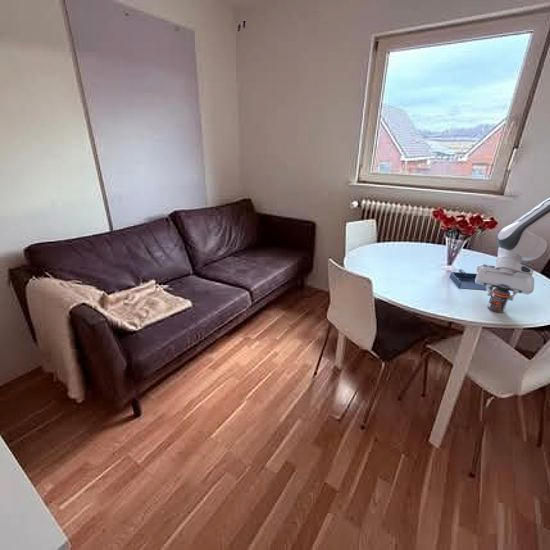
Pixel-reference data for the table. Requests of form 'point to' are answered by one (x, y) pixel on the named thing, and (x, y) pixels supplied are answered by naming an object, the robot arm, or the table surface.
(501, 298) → the supplement bottle
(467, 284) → the blue tray
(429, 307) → the table surface
